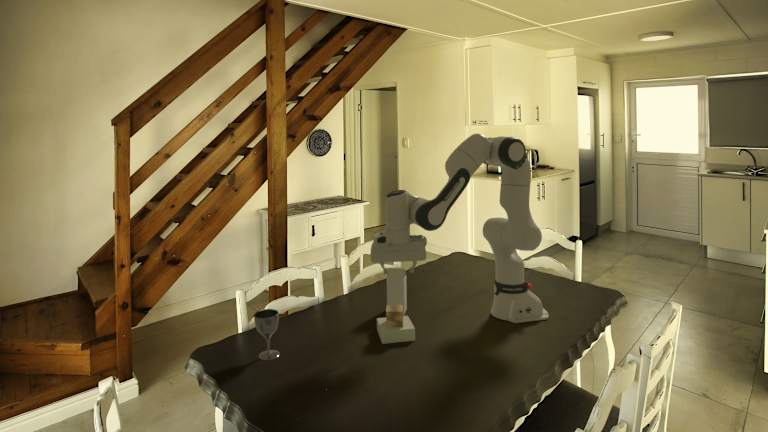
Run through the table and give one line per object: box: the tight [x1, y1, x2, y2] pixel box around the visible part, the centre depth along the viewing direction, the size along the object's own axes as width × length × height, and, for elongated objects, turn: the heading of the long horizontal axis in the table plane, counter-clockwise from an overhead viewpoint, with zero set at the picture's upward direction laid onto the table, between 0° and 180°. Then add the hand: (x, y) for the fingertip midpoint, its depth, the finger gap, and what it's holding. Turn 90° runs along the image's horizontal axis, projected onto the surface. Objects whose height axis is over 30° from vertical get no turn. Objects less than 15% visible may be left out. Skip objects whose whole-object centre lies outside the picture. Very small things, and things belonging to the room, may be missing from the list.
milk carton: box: [386, 267, 408, 316], centre depth 192 cm, size 7×7×19 cm
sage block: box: [376, 315, 416, 345], centre depth 172 cm, size 12×12×5 cm
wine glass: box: [253, 308, 281, 361], centre depth 158 cm, size 8×8×15 cm
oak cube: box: [385, 304, 404, 327], centre depth 171 cm, size 6×6×6 cm
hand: (398, 272), depth 169 cm, fingers open, 8 cm apart
